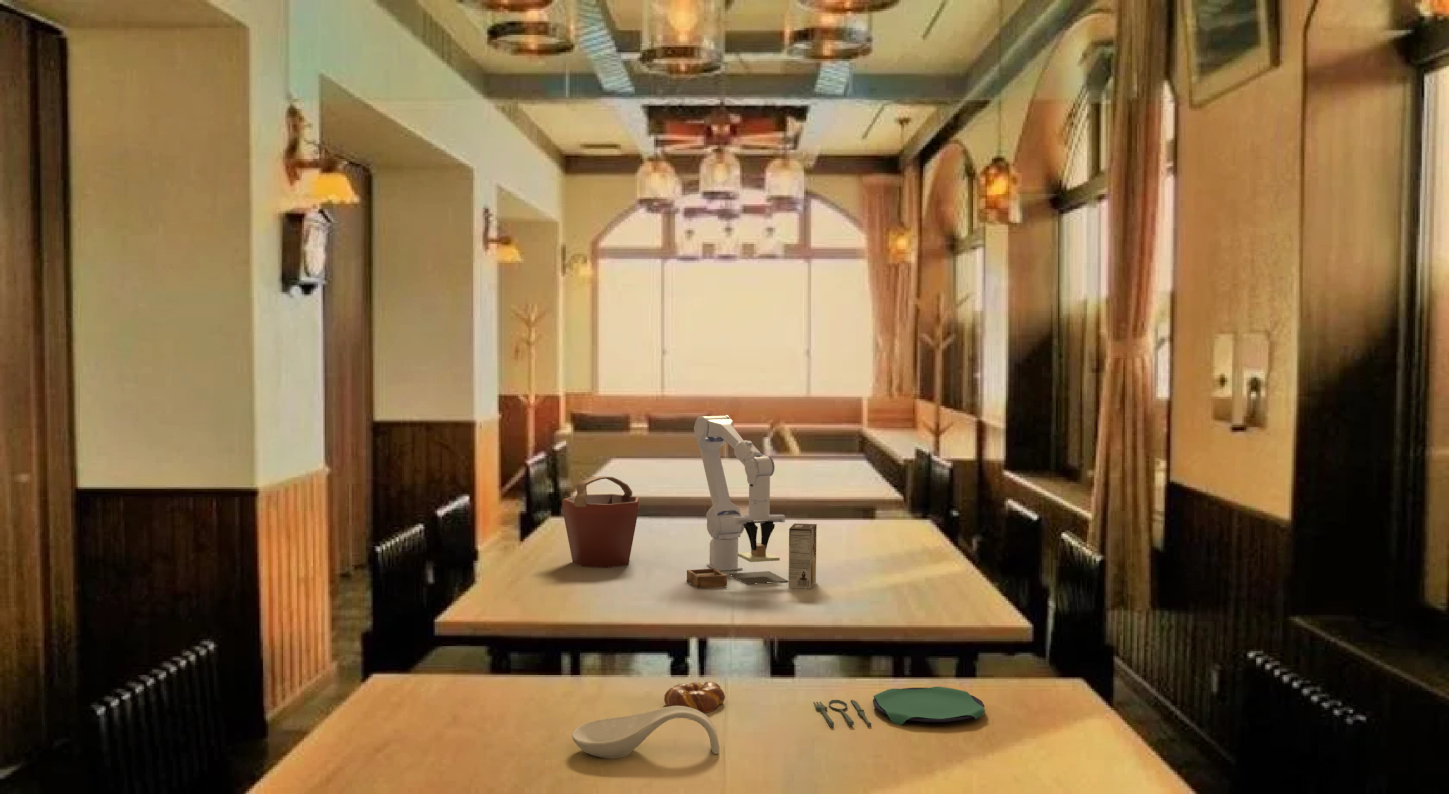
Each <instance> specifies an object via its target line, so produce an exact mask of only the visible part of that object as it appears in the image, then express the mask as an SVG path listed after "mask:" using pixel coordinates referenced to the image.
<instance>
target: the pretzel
mask: <svg viewBox="0 0 1449 794" xmlns="http://www.w3.org/2000/svg"><path fill="white" fill-rule="evenodd" d="M663 698H664V699H663V700H664V704H665V706H666V707H669V706H686V707H690V708H693V709H696V710H698V711H700V712H702V713H704V714H705V713H710V712H713V711H715V710H716V709H717V707H720V705H722V704H724V701H725V699H726V695H725V692H724V690H723V689H722V688H721V686H720V685H719V684H718V683H717V682H714V681H705V682H704V684H702V683H700V682H696V681H694V682H690V683H689V684H688V683H681V684H676V685H674V686H673V687H670V688H669V689H668V690H667V691H666V692H665V693H664V697H663Z"/></svg>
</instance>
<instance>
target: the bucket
mask: <svg viewBox="0 0 1449 794" xmlns="http://www.w3.org/2000/svg"><path fill="white" fill-rule="evenodd" d="M600 480H608V481H610V482H612V483H614V484H615V485H617V486H619V487H620V488H621V490H622V491H623V493H624V494H616V493H606V494H605V493H599V494H598V493H597V494H596V493H595V494H594V493H593V494H588V491H587V486H588V485H590V484H593V483H594V482H597V481H600ZM575 489H576V494H575V495H574V496H569V497H565V498H562V503H561V504H562V507H561V508H562V514H563V519H564V524H565V529H566V535H567V541H568V544H569V545H568V546H569V550H570V551H569V552H570V556H571V560H572V563H574V564H576V565H577V566H580V567H582V568H583V567H584V568H585V567H586V568H601V569H603V568H604V569H605V568H606V569H609V568H614V567H615V568H616V567H623V566H624V567H625V566H629V565H630V564H629V563H630V558H631V553H632V547H633V542H634V537H635V532H636V531H635V530H636V526H637V520H638V516H639V509H640V496H635V495H633V490H632V489H631V487H630V486H629V484H627V483H626V482H623V481H622V480H620V479H618V478H616V477H613V476H607V475H605V476H604V475H601V476H591V477H589V478H586V479H583V480H581V481H579V482H576V488H575Z"/></svg>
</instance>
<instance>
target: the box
mask: <svg viewBox="0 0 1449 794" xmlns="http://www.w3.org/2000/svg"><path fill="white" fill-rule="evenodd" d="M686 582H688V583H689V582H690V583H689V584H691V585H692V586H694V587H695V588H696V589H710V588H711V589H712V588H725V586H727V587H728V575H727V574H725V573H723V572H722V571H718V570H717V569H715V568H714V569H713V568H701V569H686Z"/></svg>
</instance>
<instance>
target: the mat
mask: <svg viewBox="0 0 1449 794" xmlns="http://www.w3.org/2000/svg"><path fill="white" fill-rule="evenodd" d="M729 574H730V575H729ZM729 574H728V575H729V576H731V575H732V576H731V577H733V578H734V577H735V579H736V578H737V579H736V580H738V581H740V580H741V581H742V582H741V581H740V582H741V583H743V582H745V583H746V584H745V583H744V584H745V585H747V584H748V585H756V584H755V583H764V584H768V583H767V582H780V583H789V580H787V579H785V578H783V577H782V576H779V575H777V574H776V573H774V572H772V571H770V570H769V571H768V570H765V571H752V572H751V571H748V572H736V573H734V572H731V573H729Z"/></svg>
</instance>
